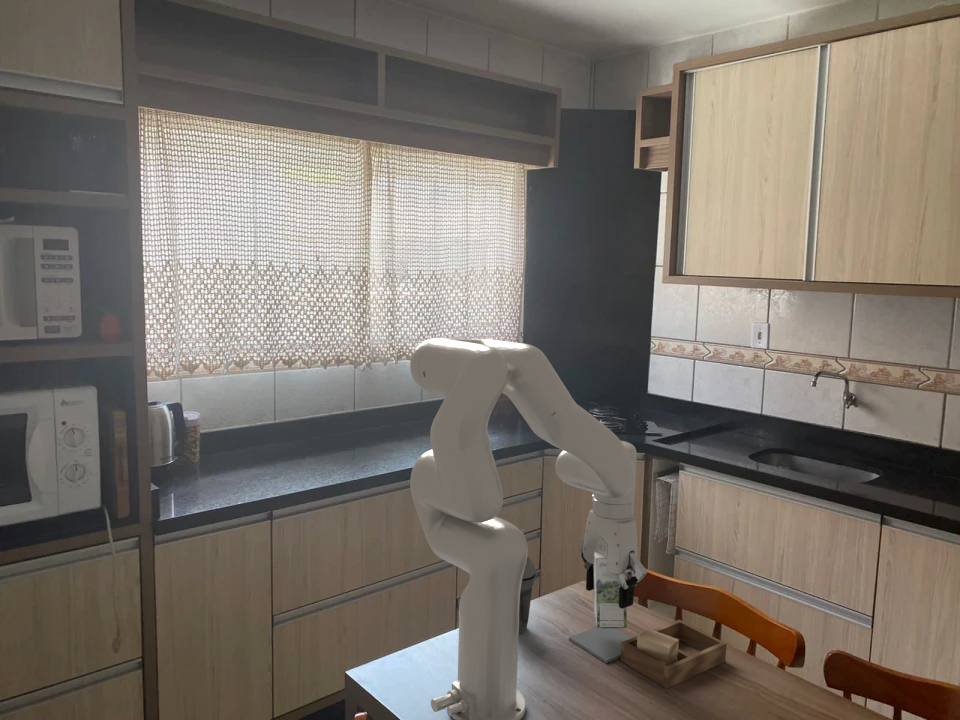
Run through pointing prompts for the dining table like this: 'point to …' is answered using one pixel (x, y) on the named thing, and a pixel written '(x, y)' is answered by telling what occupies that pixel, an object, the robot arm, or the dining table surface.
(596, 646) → the plate
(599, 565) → the syrup box
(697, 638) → the divided wooden tray
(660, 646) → the offcut upper
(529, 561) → the beverage cup
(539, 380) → the robot arm
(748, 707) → the dining table surface
